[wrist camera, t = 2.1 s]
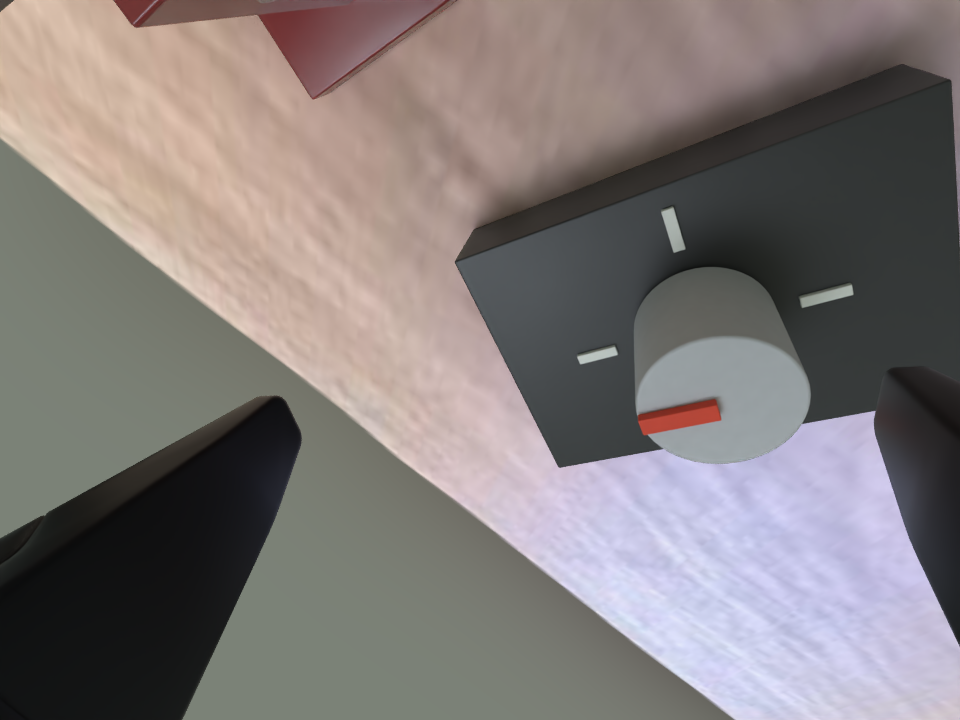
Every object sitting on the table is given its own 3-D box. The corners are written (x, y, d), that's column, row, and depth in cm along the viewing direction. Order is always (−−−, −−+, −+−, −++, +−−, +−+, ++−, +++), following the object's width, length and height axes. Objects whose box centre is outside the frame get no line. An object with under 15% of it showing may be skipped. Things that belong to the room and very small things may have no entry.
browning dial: (761, 246, 17) (798, 321, 13) (787, 363, 19) (827, 457, 15) (616, 290, 18) (614, 367, 15) (654, 392, 20) (660, 483, 17)
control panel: (902, 62, 16) (955, 79, 13) (927, 345, 20) (970, 397, 18) (473, 229, 22) (452, 263, 19) (564, 422, 26) (558, 471, 23)
